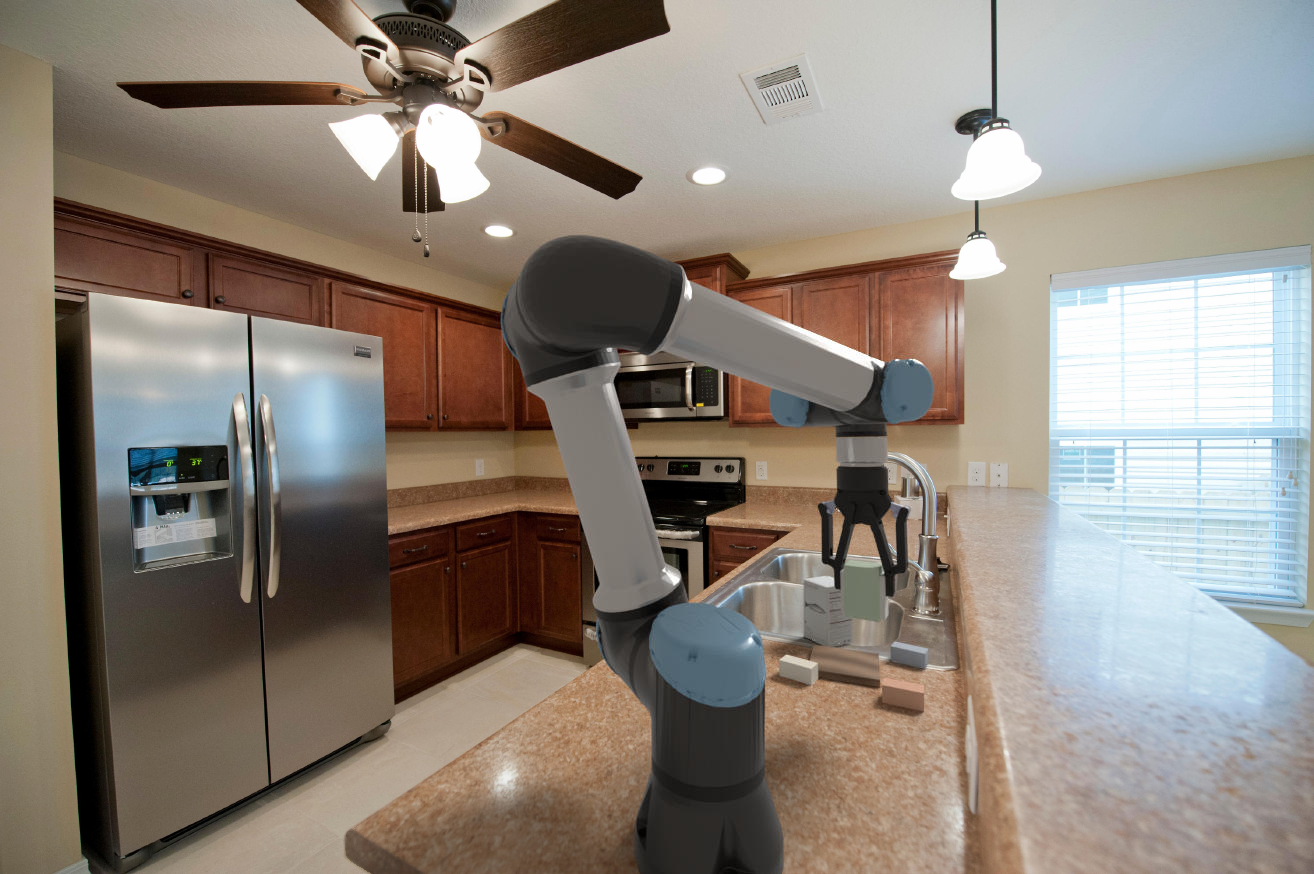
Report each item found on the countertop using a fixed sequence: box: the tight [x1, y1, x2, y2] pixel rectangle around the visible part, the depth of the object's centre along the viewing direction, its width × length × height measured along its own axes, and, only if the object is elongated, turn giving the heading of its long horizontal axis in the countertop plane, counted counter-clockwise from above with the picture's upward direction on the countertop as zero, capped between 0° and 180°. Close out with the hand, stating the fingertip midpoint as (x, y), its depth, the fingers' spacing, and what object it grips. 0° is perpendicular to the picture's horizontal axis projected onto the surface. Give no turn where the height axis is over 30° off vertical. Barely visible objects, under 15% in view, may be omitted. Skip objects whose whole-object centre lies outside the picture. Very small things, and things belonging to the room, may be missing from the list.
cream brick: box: [778, 654, 819, 686], centre depth 91 cm, size 6×3×3 cm, turn 51°
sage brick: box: [844, 559, 884, 623], centre depth 80 cm, size 4×5×8 cm
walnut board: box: [809, 644, 881, 688], centre depth 95 cm, size 12×12×1 cm
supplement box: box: [803, 575, 854, 648], centre depth 109 cm, size 7×7×13 cm
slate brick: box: [890, 641, 930, 670], centre depth 97 cm, size 6×3×3 cm, turn 51°
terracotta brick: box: [881, 677, 926, 712], centre depth 82 cm, size 6×3×3 cm, turn 61°
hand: (864, 613), depth 80 cm, fingers closed on sage brick, 5 cm apart
